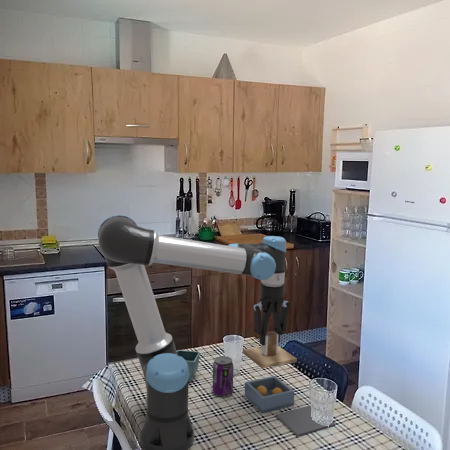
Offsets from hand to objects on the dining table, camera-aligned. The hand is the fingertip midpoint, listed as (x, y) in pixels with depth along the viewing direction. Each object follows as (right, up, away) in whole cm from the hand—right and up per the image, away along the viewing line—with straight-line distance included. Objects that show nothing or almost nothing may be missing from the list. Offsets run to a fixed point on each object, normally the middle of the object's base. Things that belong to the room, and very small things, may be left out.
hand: (269, 352), depth 149 cm
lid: (0, -2, 0) cm, 2 cm away
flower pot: (-29, -15, +17) cm, 37 cm away
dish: (0, -17, +2) cm, 17 cm away
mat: (+10, -18, -9) cm, 23 cm away
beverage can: (-16, -16, +7) cm, 23 cm away
